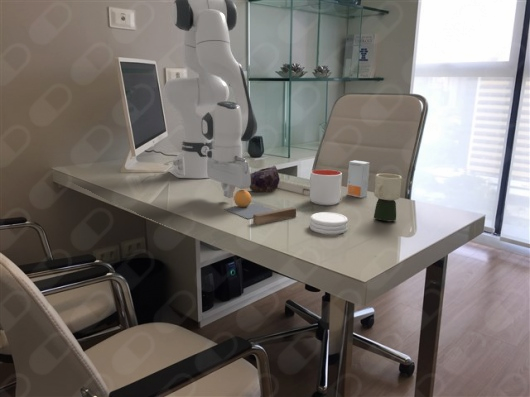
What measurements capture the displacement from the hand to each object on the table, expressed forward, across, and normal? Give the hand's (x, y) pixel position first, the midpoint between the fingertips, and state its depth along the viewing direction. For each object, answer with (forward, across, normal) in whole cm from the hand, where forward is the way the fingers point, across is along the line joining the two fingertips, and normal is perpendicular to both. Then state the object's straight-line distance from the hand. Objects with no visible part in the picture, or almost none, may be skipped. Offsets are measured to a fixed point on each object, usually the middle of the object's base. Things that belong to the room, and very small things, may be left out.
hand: (228, 196), depth 142 cm
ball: (-1, -8, 0) cm, 8 cm away
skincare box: (+2, -18, -42) cm, 46 cm away
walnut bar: (+2, -24, 0) cm, 24 cm away
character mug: (+2, -42, -26) cm, 49 cm away
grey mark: (+2, -13, 0) cm, 13 cm away
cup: (+2, -18, -26) cm, 32 cm away
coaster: (+2, -38, -7) cm, 39 cm away
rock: (+2, +5, -20) cm, 21 cm away
